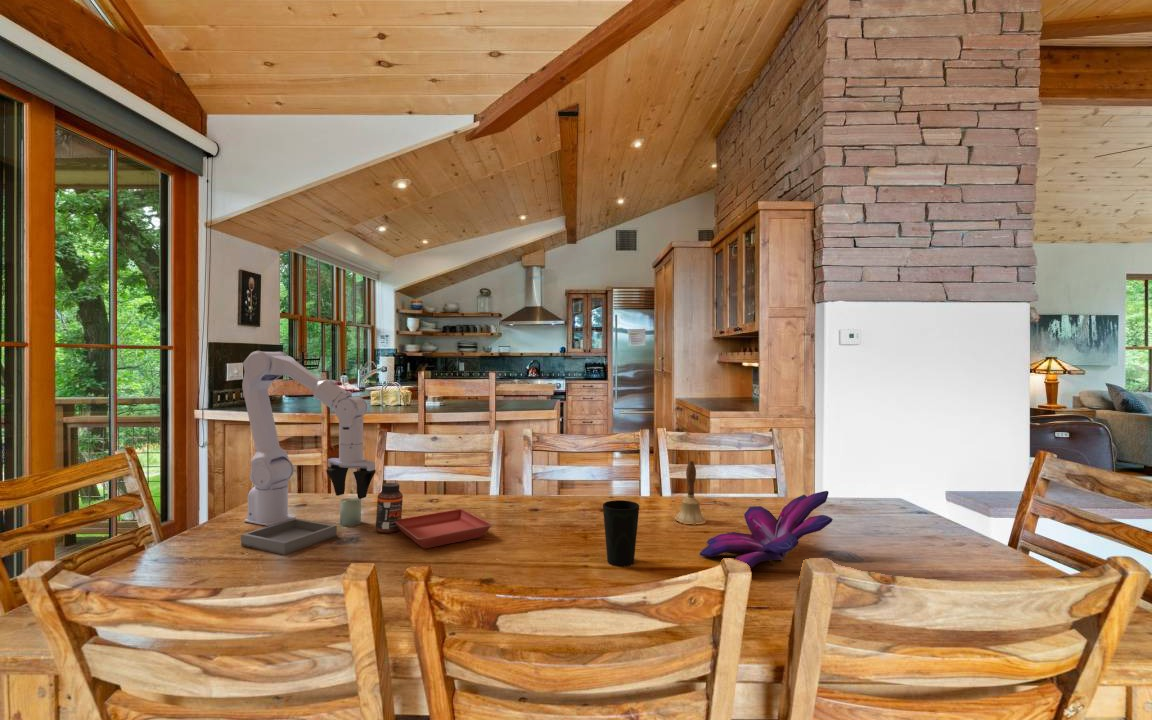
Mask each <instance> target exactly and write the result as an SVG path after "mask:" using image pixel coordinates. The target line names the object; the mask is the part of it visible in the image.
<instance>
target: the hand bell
mask: <svg viewBox="0 0 1152 720" xmlns="http://www.w3.org/2000/svg"><path fill="white" fill-rule="evenodd" d="M695 465H696V464H695V462H694V460H689V461H688V463H687V466H686V471H685V478H686V481H687V497H686V498H683V499H682V502H681V507H680V511H679V512H678V514H677V515H676V516H675V517H674V520H675V519H676V520H677V521H680V522H683V523H691V524H696V523H702V522H704V521H705V520H706V521H707V519H706V518H705V517H704V515H703V514H702V510H701V507H700V506H701V505H700V501H699V500H698V499H696V498H695V487H694V486H695V482H696V478H697V469H696V466H695Z"/></svg>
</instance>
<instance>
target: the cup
mask: <svg viewBox="0 0 1152 720" xmlns="http://www.w3.org/2000/svg"><path fill="white" fill-rule="evenodd" d="M639 511H640V504H639V503H637V502H634V501H632V500H625V499H624V500H622V499H620V500H618V499H615V500H609V501H605V502H604V503H603V504H602V512H603V524H604V525H603V526H604V535H605V547H606V559H607V564H608V565H610V564H611V566H613V567H622V568H623V567H624V566H626V567H630V566H633V564H634V563H635V554H636V545H637V544H636V543H637V535H638V533H637V532H638V524H639V514H640V513H639Z"/></svg>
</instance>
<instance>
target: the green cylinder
mask: <svg viewBox="0 0 1152 720" xmlns="http://www.w3.org/2000/svg"><path fill="white" fill-rule="evenodd" d="M361 523H362V499H358V497H347V498H343V499H340V501H339V525H340V526H341V527H355V526H358V525H360V524H361Z"/></svg>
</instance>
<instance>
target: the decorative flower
mask: <svg viewBox="0 0 1152 720" xmlns="http://www.w3.org/2000/svg"><path fill="white" fill-rule="evenodd" d="M829 492H830V491H828V490H823V491H820V492H815V493H812V494H810V495H808V496H807V495H806V494H802V495H800V496H798V497H795V498H794V499H792V500H791V501H789V502H788V503H787V504H786V505H785V506H784V507H783V508H782V510H781V512H780V513H779V515H778V518H776V517H775V516H774V515H773V513H771V512H770V510H769V509H767V508H765V507H763V506H760V505H759V506H755V505H754V506H749V507H748V509H747V510H746V512H745V513H744V514H743V517H744V521H745V523H746V525H747V527H748V529H749V532H750V534H749V533H744V532H743V533H741V532H735V531H731V532H726V533H720V534H718V535H716V536H713V537H711V538H709V539H708V540H707V541H706V544H707V546H706V547H704V548H703V549H702V550H701V551H700V552H699V556H702V557H709V558H712V557H715V556H718V555H722V554H725V553H728V552H729V553H730V552H732V553H733V552H739V553H743V554H741V555H738V556H735V558H734V559H737V560H740V561H743V562H745V563H747V564H748V565H749V566H750V568H751V569H753V567H755V566H756V565H757V564H759V563H762V562H765V561H767V560H781V561H780V562H782V561H783V559H785V558H786V557H787V555H788V554H789V553H790V551H792V550H793V549H794V548H796V547H797V545H799V539H801V538H803V537H804V536H806V535H809V534H813V533H816V532H820V531H821V530H823V529H824V528H826V527H827V526H828V525H830V524H831V523H832V522H833V520H834V519H833V518H832V517H830V516H828V515H825V514H819V515H815V516H810V514H811V513H812V512H813V511H814V510H816V509H817V508H818V507H820V506H821V505H823V504H825V503H826V502H827V501H828V500H827V499H828V497H829V494H830V493H829ZM808 516H810V517H808Z"/></svg>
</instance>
